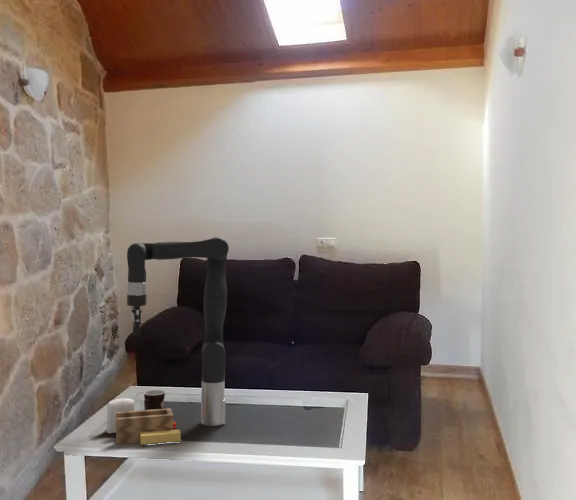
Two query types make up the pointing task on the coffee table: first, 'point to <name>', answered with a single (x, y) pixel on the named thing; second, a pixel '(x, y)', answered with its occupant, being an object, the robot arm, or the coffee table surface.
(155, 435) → the slat
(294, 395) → the coffee table surface
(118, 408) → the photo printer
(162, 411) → the pocket block
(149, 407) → the coffee mug
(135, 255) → the robot arm
